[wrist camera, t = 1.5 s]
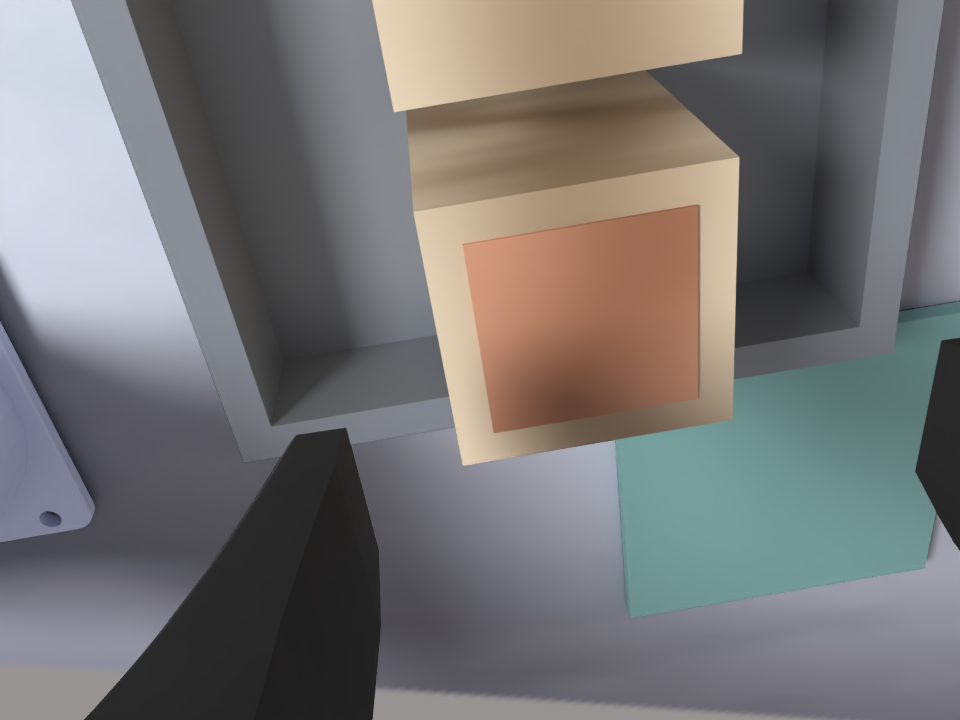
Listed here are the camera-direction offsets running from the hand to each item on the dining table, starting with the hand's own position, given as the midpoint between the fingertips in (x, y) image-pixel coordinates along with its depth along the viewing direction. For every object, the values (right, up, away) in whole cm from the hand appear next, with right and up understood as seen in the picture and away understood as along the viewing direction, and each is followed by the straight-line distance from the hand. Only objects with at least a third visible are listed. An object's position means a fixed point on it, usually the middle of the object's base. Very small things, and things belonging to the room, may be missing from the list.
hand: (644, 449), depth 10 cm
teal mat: (+6, -2, +13) cm, 15 cm away
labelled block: (-1, +5, +8) cm, 9 cm away
